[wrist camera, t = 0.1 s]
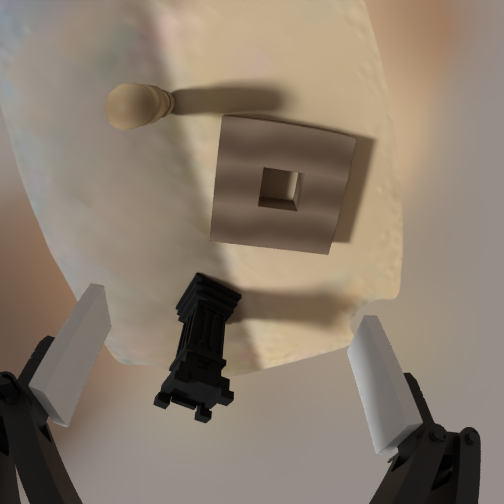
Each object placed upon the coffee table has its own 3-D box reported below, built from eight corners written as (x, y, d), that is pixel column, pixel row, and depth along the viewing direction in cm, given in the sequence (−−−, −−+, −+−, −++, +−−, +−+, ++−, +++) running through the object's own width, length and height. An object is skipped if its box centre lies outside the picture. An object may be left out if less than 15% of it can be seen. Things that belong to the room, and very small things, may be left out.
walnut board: (225, 114, 35) (222, 116, 31) (346, 134, 36) (356, 138, 32) (212, 228, 42) (209, 241, 39) (322, 241, 43) (328, 254, 40)
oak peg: (150, 87, 32) (107, 84, 21) (182, 87, 33) (151, 82, 21) (147, 119, 34) (103, 130, 23) (179, 120, 35) (147, 130, 23)
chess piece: (217, 325, 51) (207, 425, 33) (176, 305, 49) (149, 404, 31) (241, 294, 48) (238, 399, 30) (197, 272, 46) (171, 375, 28)
